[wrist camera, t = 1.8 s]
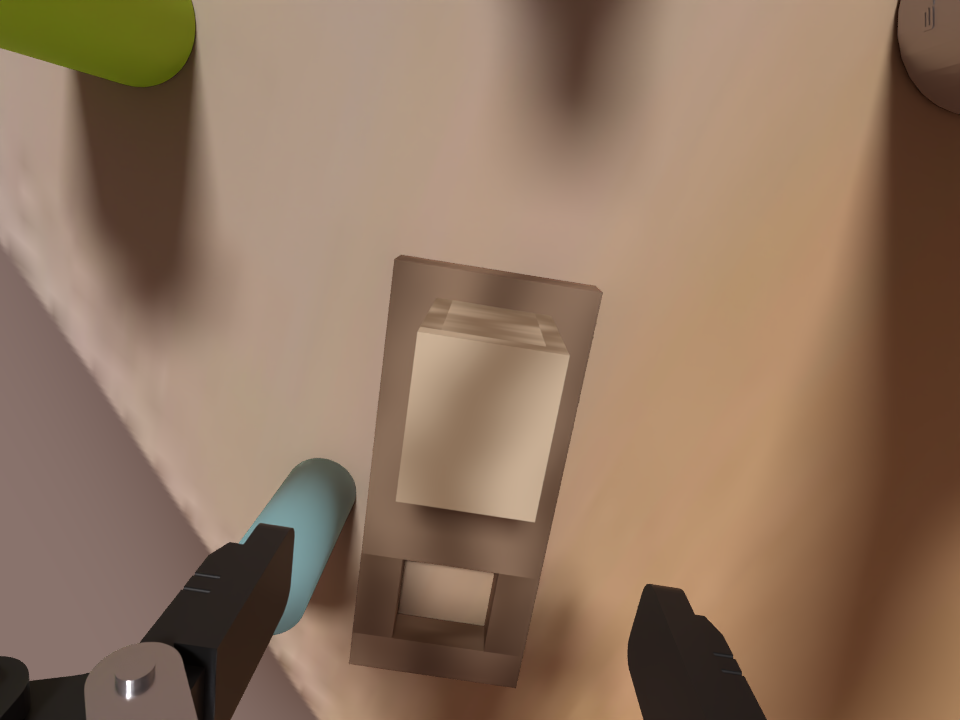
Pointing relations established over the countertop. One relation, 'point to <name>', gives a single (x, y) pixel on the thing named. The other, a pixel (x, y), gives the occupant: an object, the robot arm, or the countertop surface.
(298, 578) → the peg
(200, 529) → the countertop surface
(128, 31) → the soap dispenser
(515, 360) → the beige cube block
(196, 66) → the countertop surface
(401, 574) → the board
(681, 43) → the countertop surface
